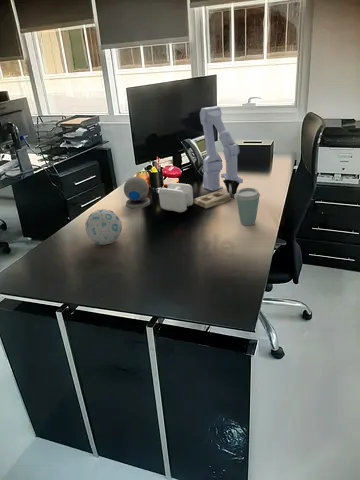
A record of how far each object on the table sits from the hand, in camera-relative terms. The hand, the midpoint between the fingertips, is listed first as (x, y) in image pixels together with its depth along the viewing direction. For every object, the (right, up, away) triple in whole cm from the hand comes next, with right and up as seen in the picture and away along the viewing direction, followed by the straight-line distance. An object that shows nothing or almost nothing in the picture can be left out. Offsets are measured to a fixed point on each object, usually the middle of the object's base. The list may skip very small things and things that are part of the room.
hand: (231, 193), depth 191 cm
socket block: (-11, -5, -2) cm, 12 cm away
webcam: (-50, -6, +3) cm, 50 cm away
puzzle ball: (-59, -26, -34) cm, 73 cm away
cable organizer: (-29, -9, -6) cm, 30 cm away
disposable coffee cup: (+3, -17, -27) cm, 32 cm away
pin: (0, -2, +1) cm, 2 cm away
